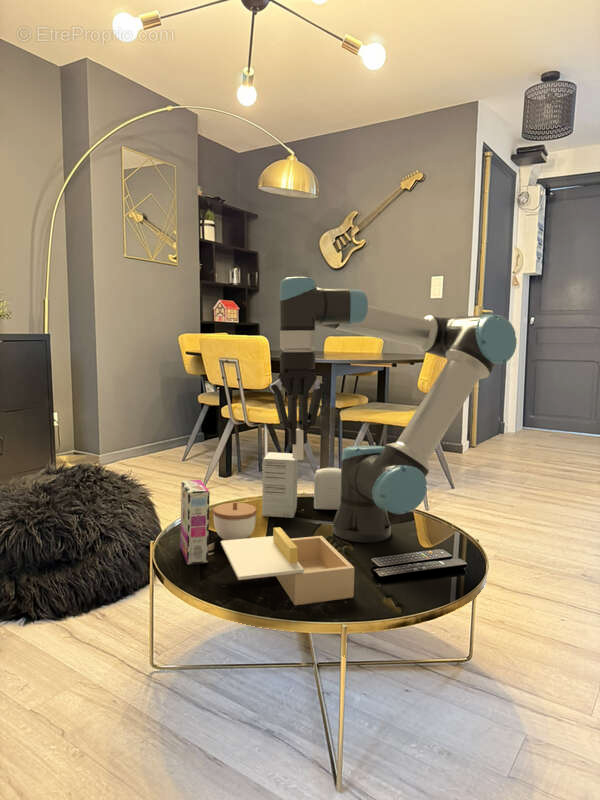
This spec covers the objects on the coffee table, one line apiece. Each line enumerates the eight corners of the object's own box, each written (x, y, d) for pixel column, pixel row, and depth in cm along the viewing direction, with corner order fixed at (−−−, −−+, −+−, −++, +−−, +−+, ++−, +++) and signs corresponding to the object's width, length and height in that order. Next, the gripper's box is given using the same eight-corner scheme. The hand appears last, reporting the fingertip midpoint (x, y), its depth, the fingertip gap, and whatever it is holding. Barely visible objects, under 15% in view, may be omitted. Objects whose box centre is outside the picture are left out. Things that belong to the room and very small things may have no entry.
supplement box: (266, 506, 161) (267, 451, 160) (297, 508, 160) (298, 453, 159) (261, 516, 152) (262, 458, 150) (293, 518, 151) (294, 459, 149)
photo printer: (313, 509, 159) (314, 469, 158) (313, 505, 163) (314, 466, 162) (348, 511, 159) (349, 470, 158) (347, 506, 163) (348, 467, 162)
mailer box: (320, 561, 121) (321, 535, 120) (353, 597, 104) (354, 567, 103) (269, 567, 117) (270, 540, 116) (294, 605, 100) (295, 574, 99)
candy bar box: (209, 563, 118) (210, 491, 117) (187, 565, 117) (187, 492, 115) (200, 545, 129) (201, 478, 127) (179, 547, 127) (180, 480, 125)
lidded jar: (217, 548, 127) (217, 510, 126) (209, 533, 137) (210, 497, 136) (260, 544, 130) (261, 506, 129) (250, 529, 140) (250, 495, 140)
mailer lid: (276, 538, 117) (277, 522, 117) (303, 572, 100) (304, 553, 99) (220, 543, 113) (220, 527, 113) (238, 580, 96) (238, 560, 95)
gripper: (318, 350, 120) (317, 453, 123) (263, 351, 116) (264, 457, 118) (332, 350, 114) (332, 459, 116) (274, 351, 109) (275, 465, 111)
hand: (297, 458), depth 117 cm, fingers closed
